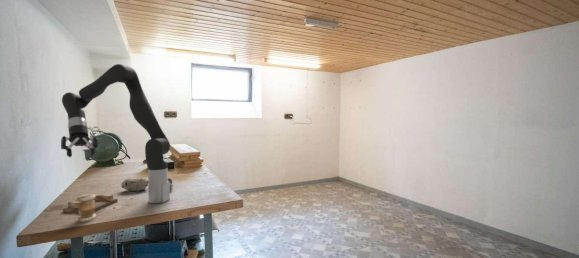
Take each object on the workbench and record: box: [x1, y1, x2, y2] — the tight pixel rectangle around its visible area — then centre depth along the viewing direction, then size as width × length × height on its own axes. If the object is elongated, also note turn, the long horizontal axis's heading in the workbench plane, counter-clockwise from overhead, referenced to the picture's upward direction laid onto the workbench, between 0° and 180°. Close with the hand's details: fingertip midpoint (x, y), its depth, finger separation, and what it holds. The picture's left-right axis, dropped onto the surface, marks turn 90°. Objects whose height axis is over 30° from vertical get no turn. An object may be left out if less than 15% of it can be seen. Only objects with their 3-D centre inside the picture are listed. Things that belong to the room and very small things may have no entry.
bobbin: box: [76, 193, 97, 223], centre depth 110 cm, size 6×6×10 cm
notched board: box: [62, 193, 119, 214], centre depth 125 cm, size 14×16×4 cm
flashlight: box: [168, 177, 173, 192], centre depth 157 cm, size 15×5×5 cm, turn 25°
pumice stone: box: [120, 178, 148, 192], centre depth 153 cm, size 14×12×8 cm
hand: (81, 156), depth 126 cm, fingers open, 8 cm apart
